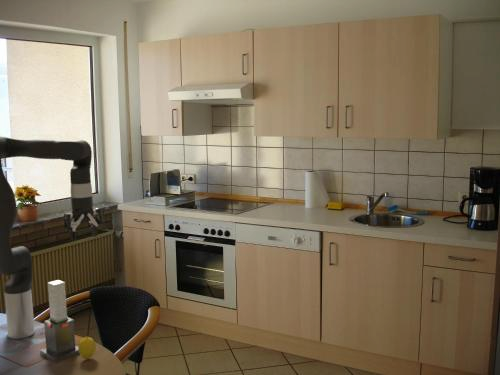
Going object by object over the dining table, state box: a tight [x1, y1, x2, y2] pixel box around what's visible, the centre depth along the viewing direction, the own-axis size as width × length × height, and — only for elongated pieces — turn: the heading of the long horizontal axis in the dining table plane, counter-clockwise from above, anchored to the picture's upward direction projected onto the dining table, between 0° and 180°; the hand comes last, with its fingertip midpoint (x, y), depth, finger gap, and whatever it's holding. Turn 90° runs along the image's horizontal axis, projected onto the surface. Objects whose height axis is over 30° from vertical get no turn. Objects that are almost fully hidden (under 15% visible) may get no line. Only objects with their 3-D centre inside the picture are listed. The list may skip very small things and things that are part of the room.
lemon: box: [78, 336, 97, 360], centre depth 182 cm, size 6×6×8 cm
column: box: [47, 279, 69, 324], centre depth 185 cm, size 4×4×19 cm
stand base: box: [39, 316, 80, 363], centre depth 186 cm, size 10×10×12 cm
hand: (84, 238), depth 201 cm, fingers open, 8 cm apart
